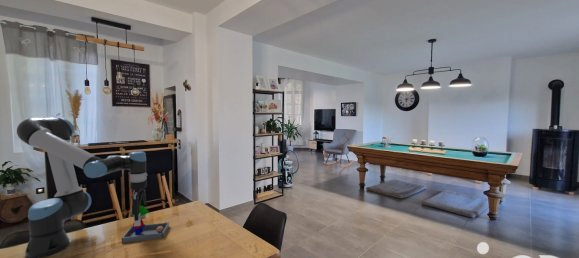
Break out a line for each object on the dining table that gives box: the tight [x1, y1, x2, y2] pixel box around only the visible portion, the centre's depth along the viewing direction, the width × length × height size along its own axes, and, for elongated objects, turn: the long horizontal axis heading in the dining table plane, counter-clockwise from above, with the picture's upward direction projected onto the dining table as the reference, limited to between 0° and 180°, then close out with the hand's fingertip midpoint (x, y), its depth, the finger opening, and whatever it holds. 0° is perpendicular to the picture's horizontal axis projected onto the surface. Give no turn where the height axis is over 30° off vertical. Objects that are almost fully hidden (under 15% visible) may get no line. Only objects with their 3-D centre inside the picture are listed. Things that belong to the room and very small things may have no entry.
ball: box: [156, 226, 164, 233], centre depth 133 cm, size 4×4×4 cm
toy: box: [130, 206, 149, 235], centre depth 130 cm, size 8×8×15 cm
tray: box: [121, 222, 170, 244], centre depth 131 cm, size 19×13×3 cm
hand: (140, 222), depth 130 cm, fingers closed on toy, 8 cm apart
